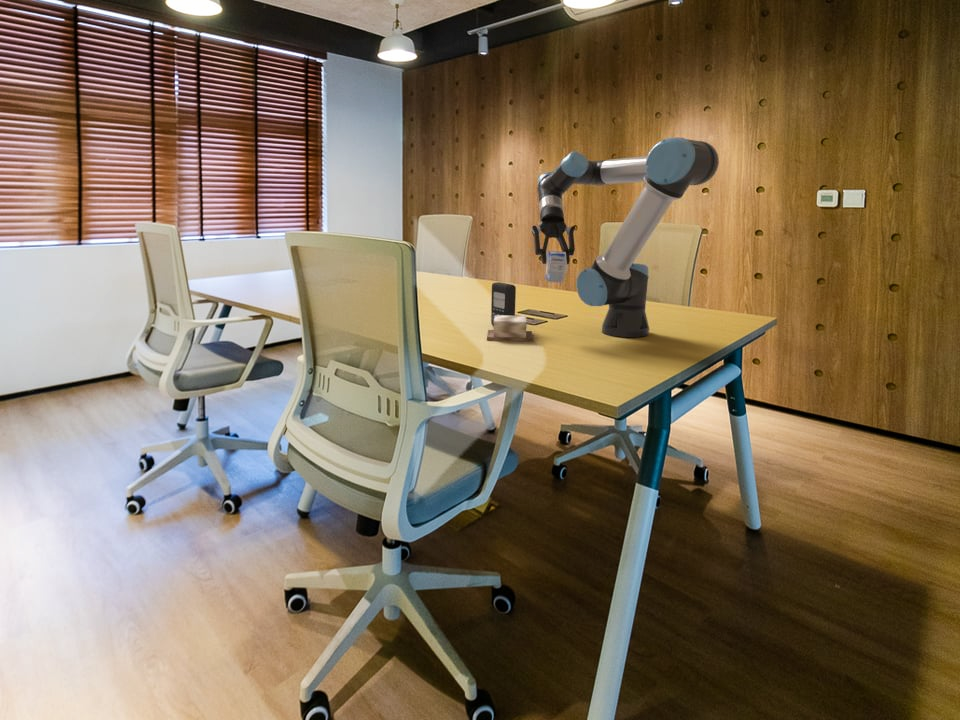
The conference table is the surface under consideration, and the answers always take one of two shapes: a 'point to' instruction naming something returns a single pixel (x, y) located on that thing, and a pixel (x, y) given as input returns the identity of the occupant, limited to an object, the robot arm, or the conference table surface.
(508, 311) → the card reader
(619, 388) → the conference table surface
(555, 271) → the medicine box
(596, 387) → the conference table surface
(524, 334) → the build base
